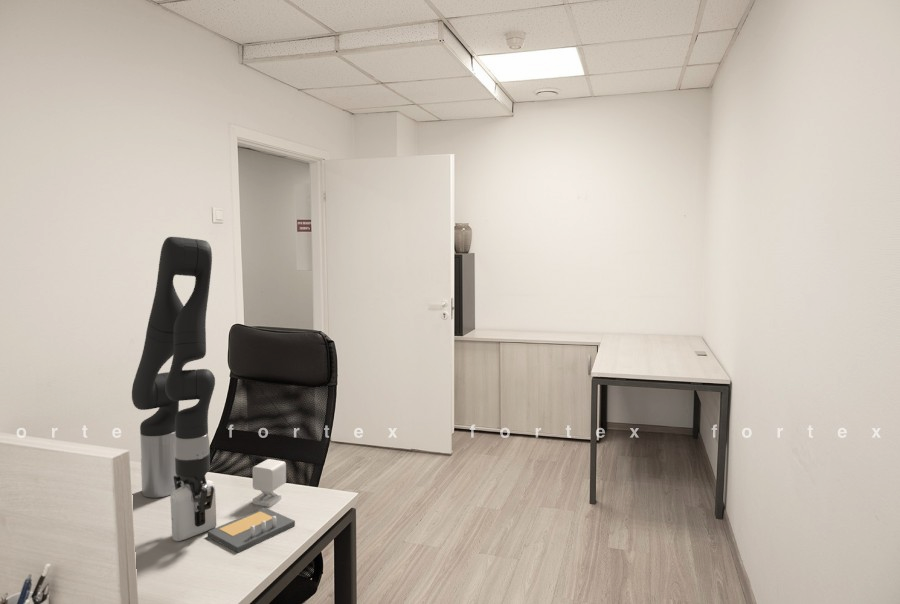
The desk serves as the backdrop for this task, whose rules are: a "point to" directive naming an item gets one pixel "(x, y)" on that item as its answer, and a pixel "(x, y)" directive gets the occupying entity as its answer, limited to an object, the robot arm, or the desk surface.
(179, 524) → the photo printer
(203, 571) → the desk surface
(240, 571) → the desk surface
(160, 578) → the desk surface
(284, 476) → the security camera
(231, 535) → the charging dock
